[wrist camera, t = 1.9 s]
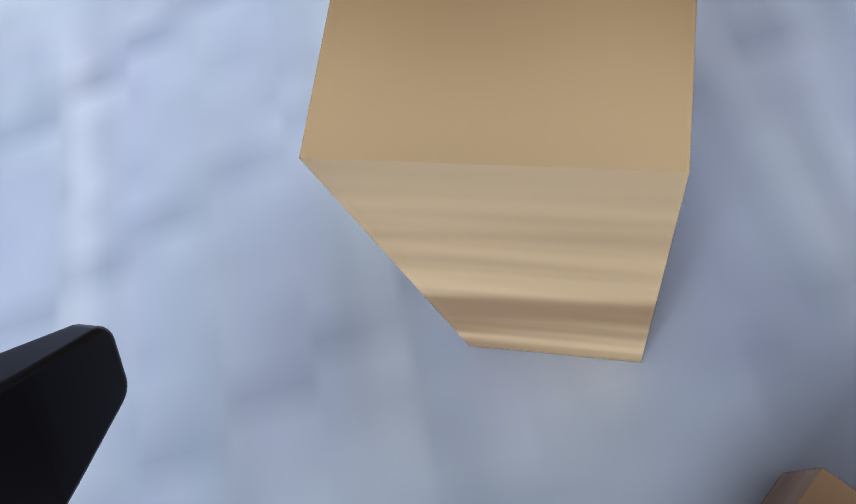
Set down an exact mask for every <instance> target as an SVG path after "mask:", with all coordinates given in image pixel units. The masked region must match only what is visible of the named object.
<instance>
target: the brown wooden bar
mask: <svg viewBox="0 0 856 504" xmlns="http://www.w3.org/2000/svg"><path fill="white" fill-rule="evenodd" d="M762 504H856V490H855V489H853V488H852V487H850V486H849V485H847V484H846V483H844V482H843V481H841V480H840V479H839V478H837V477H836V476H834V475H833V474H831V473H830V472H828V471H827V470H825V469H824V468H816V469H808V470H801V471H794V472H787V473H782V475H781V476H780V478H779V479H778V481H777V482H776V483H775V485H774V486H773V488H772V489H771V491H770V492H769V494H768V495H767V497H766V498H765V499H764V501H763V502H762Z"/></svg>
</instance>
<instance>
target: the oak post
mask: <svg viewBox="0 0 856 504" xmlns="http://www.w3.org/2000/svg"><path fill="white" fill-rule="evenodd" d="M696 6H697V0H330V3H329V8H328V14H327V19H326V24H325V29H324V34H323V39H322V44H321V49H320V54H319V59H318V64H317V70H316V75H315V80H314V85H313V90H312V95H311V100H310V105H309V110H308V115H307V121H306V126H305V131H304V136H303V141H302V146H301V151H300V156H299V159H300V160H301V161H302V162H303V163H304V164H305V165H306V166H307V167H308V168H309V170H310V171H311V172H312V173H313V174H314V175H315V176H316V177H317V178H318V179H319V181H320V182H321V183H322V184H323V185H324V186H325V187H326V188H327V189H328V191H329V192H330V193H331V194H332V195H333V196H334V197H335V198H336V199H337V200H338V202H339V203H340V204H341V205H342V206H343V207H344V208H345V209H346V210H347V211H348V213H349V214H350V215H351V216H352V217H353V218H354V219H355V220H356V221H357V223H358V224H359V225H360V226H361V227H362V228H363V229H364V230H365V231H366V232H367V234H368V235H369V236H370V237H371V238H372V239H373V240H374V241H375V242H376V243H377V245H378V246H379V247H380V248H381V249H382V250H383V251H384V252H385V253H386V254H387V256H388V257H389V258H390V259H391V260H392V261H393V262H394V263H395V264H396V266H397V267H398V268H399V269H400V270H401V271H402V272H403V273H404V274H405V275H406V277H407V278H408V279H409V280H410V281H411V282H412V283H413V284H414V285H415V286H416V288H417V289H418V290H419V291H420V292H421V293H422V294H423V295H424V296H425V298H426V299H427V300H428V301H429V302H430V303H431V304H432V305H433V306H434V307H435V309H436V310H437V311H438V312H439V313H440V314H441V315H442V316H443V317H444V318H445V320H446V321H447V322H448V323H449V324H450V325H451V326H452V327H453V328H454V330H455V331H456V332H457V333H458V334H459V335H460V336H461V337H462V338H463V339H464V341H465V342H466V343H467V344H468V345H469V346H477V347H488V348H498V349H508V350H519V351H529V352H540V353H550V354H561V355H571V356H581V357H592V358H602V359H613V360H623V361H633V362H641V361H642V357H643V353H644V349H645V345H646V341H647V337H648V333H649V329H650V325H651V321H652V317H653V314H654V310H655V306H656V302H657V298H658V294H659V290H660V286H661V282H662V278H663V274H664V270H665V267H666V263H667V259H668V255H669V251H670V247H671V243H672V239H673V235H674V231H675V227H676V223H677V219H678V216H679V212H680V208H681V204H682V200H683V196H684V192H685V188H686V184H687V180H688V176H689V172H690V151H691V127H692V103H693V78H694V54H695V30H696Z"/></svg>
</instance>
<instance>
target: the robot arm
mask: <svg viewBox="0 0 856 504" xmlns="http://www.w3.org/2000/svg"><path fill="white" fill-rule="evenodd" d="M126 393H127V378H126V375H125V371H124V368H123V365H122V362H121V358H120V355H119V352H118V349H117V345H116V342H115V339H114V336H113V334H112V333H111V332H110V331H109V330H108V329H107V328H105V327H102V326H93V325H83V324H77V325H72V326H69V327H66V328H64V329H61V330H59V331H56V332H54V333H51V334H48V335H46V336H43V337H41V338H38V339H36V340H33V341H30V342H28V343H25V344H23V345H20V346H17V347H15V348H12V349H10V350H7V351H5V352H2V353H0V504H68V502H69V500H70V499H71V497H72V495H73V493H74V492H75V490H76V488H77V486H78V485H79V483H80V481H81V479H82V477H83V475H84V473H85V472H86V470H87V468H88V466H89V464H90V462H91V461H92V459H93V457H94V455H95V453H96V451H97V449H98V448H99V446H100V444H101V442H102V440H103V438H104V436H105V435H106V433H107V431H108V429H109V427H110V425H111V424H112V422H113V420H114V418H115V416H116V414H117V412H118V411H119V409H120V407H121V405H122V403H123V401H124V399H125V396H126Z"/></svg>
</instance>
